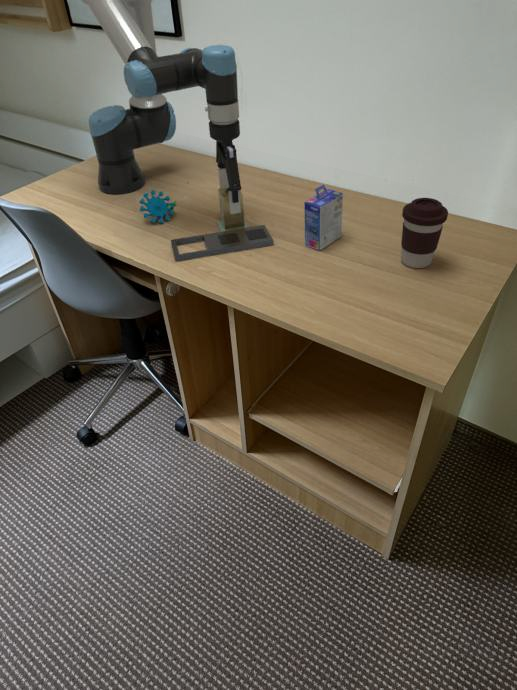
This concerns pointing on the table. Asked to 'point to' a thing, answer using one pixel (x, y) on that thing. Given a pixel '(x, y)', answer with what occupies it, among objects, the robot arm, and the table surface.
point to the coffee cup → (421, 231)
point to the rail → (225, 242)
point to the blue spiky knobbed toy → (157, 206)
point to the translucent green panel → (223, 227)
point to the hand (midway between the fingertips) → (230, 201)
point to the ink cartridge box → (323, 218)
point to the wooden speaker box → (227, 218)
